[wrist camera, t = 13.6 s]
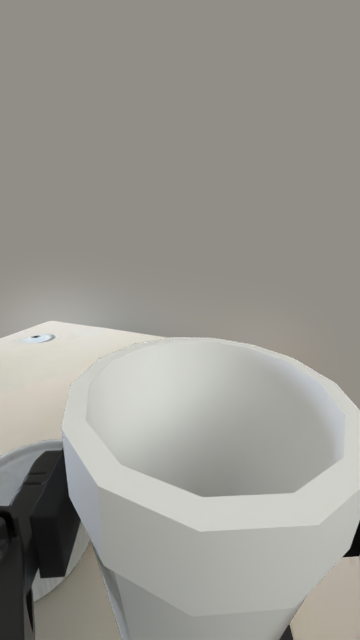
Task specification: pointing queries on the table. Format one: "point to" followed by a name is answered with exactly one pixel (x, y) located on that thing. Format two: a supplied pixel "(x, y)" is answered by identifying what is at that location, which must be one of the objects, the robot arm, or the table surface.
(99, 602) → the table surface
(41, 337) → the table surface
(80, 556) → the ramekin
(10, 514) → the robot arm
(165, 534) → the foam cup
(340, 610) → the table surface
